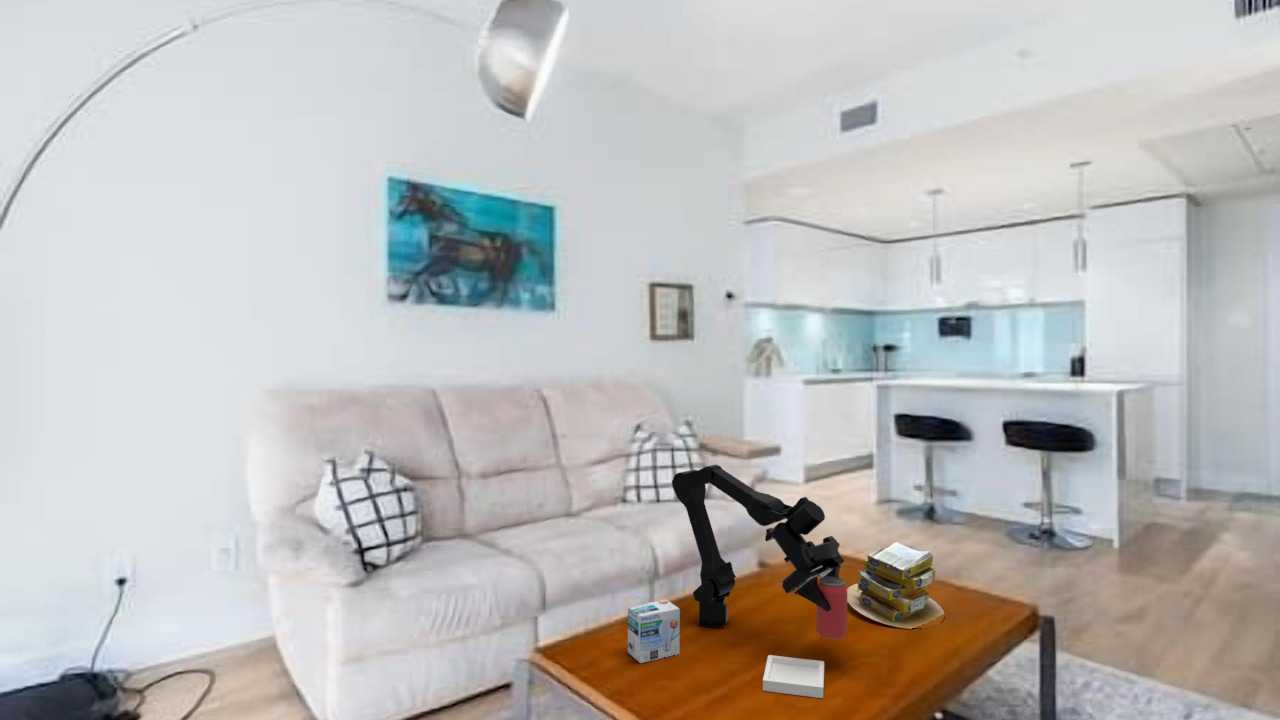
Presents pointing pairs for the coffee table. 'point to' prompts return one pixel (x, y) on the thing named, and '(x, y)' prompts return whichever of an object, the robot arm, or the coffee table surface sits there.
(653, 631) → the light bulb box
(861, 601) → the stacked boxes on plate
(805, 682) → the dock tray
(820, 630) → the beer can
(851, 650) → the coffee table surface
